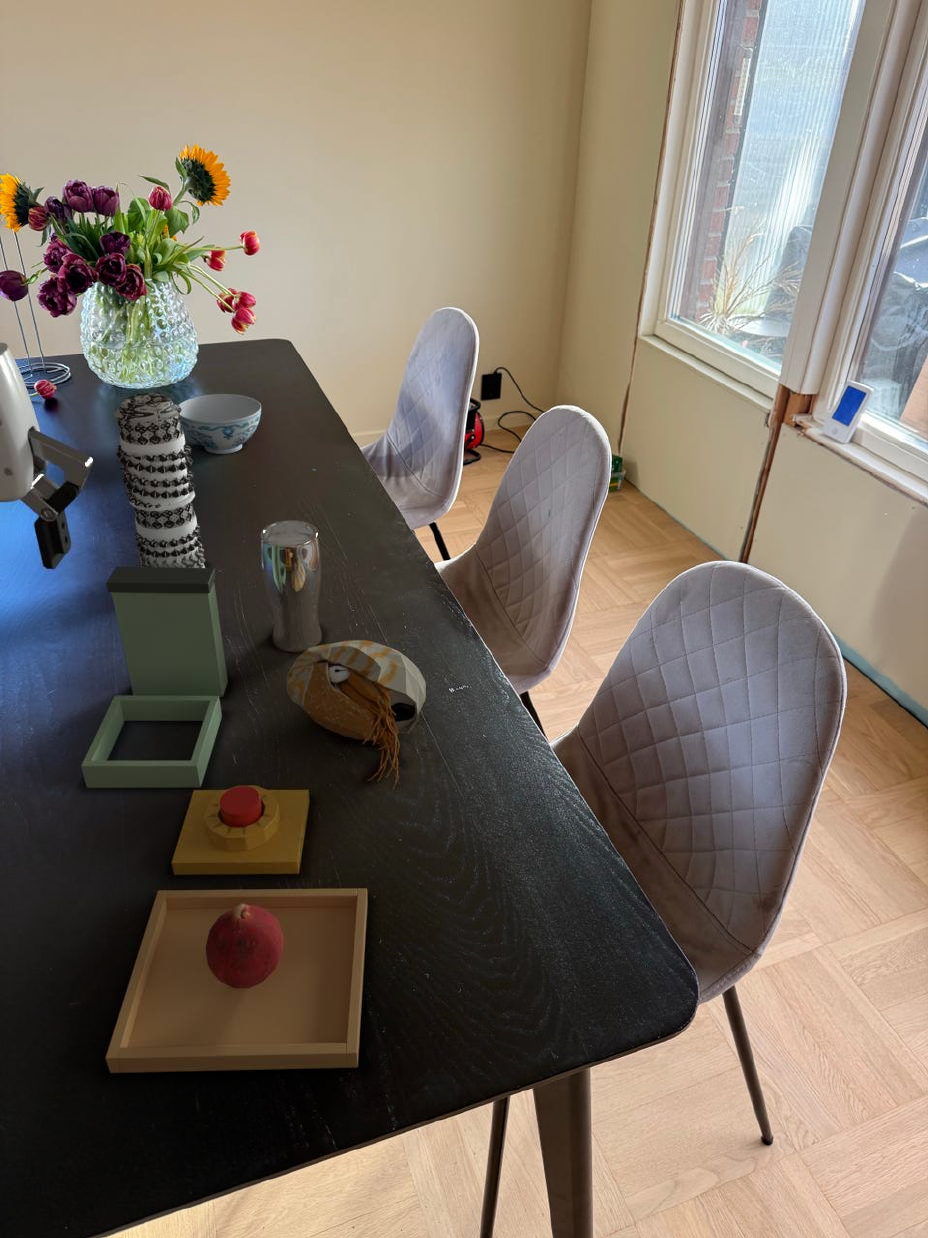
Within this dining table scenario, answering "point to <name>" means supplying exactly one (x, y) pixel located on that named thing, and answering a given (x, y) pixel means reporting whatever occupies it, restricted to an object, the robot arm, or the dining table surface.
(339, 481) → the dining table surface
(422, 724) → the dining table surface
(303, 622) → the beer glass
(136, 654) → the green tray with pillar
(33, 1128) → the dining table surface
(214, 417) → the chinaware
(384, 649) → the nautilus
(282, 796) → the button panel
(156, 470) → the decorative candle
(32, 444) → the robot arm
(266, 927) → the pomegranate
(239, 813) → the button
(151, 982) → the oak tray
